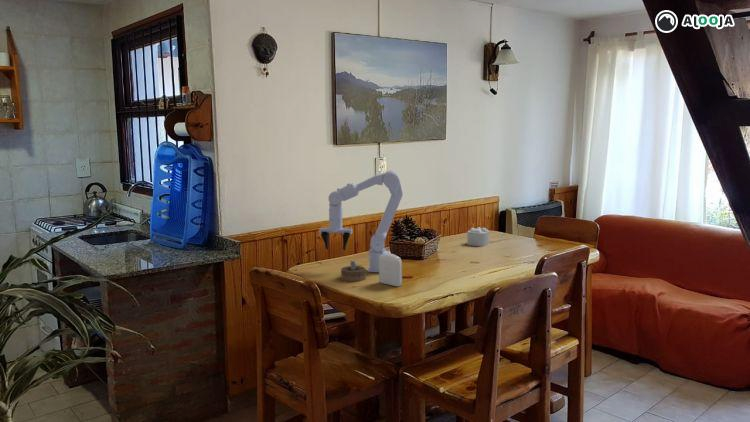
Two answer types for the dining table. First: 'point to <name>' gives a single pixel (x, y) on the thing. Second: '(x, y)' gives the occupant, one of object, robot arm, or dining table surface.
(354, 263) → the dark grey capsule
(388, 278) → the white upright block
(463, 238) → the dining table surface
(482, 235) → the lumpy-topped squat cylinder
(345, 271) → the bead
